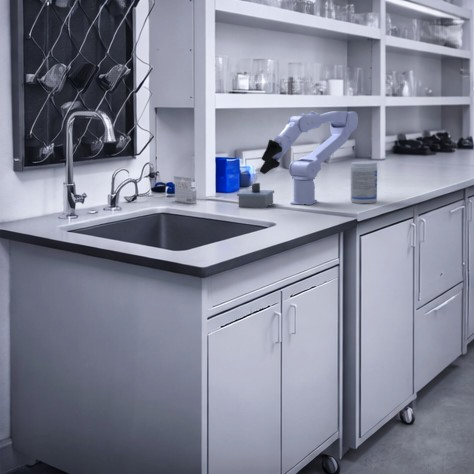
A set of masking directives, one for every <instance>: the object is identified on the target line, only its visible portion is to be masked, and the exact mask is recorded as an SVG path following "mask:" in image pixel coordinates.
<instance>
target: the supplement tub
mask: <svg viewBox="0 0 474 474" xmlns="http://www.w3.org/2000/svg"><path fill="white" fill-rule="evenodd" d="M377 163H378V162H376V161H368V160H367V161H353V162H351V163H350V201H351V203H352V204H353V203H354V204H357V203H369V204H373V203H374V202H375V203H376V202H377V200H378V165H377Z"/></svg>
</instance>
